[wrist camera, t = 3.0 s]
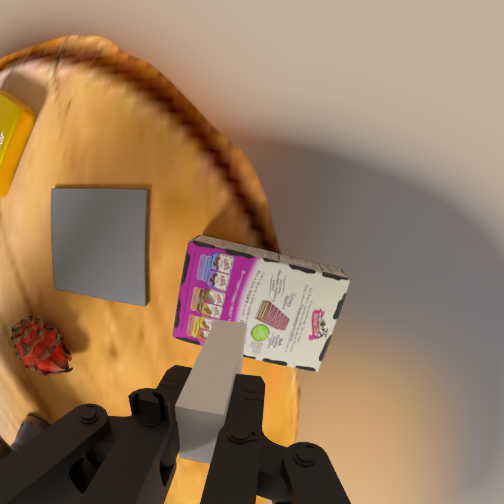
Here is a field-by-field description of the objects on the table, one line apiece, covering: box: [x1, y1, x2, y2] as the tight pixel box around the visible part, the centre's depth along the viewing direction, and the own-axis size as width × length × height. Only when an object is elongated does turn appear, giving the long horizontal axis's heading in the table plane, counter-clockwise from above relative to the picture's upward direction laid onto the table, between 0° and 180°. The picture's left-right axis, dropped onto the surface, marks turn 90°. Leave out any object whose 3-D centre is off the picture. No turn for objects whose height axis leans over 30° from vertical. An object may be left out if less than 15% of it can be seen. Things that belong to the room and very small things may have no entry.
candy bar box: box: [173, 235, 350, 372], centre depth 32 cm, size 11×5×16 cm
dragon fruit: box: [11, 316, 73, 377], centre depth 35 cm, size 8×8×12 cm
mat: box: [51, 188, 149, 306], centre depth 34 cm, size 15×14×1 cm
